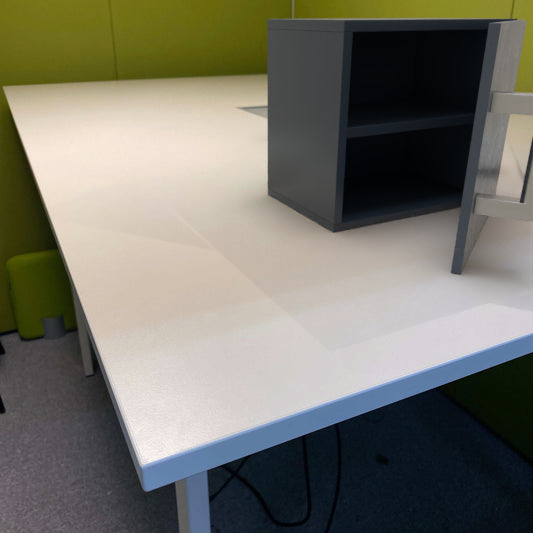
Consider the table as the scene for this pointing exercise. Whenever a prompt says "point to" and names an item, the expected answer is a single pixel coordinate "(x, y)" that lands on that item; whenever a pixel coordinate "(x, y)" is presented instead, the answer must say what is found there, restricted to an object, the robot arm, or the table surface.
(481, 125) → the door
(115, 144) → the table surface
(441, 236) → the table surface
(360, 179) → the cabinet
